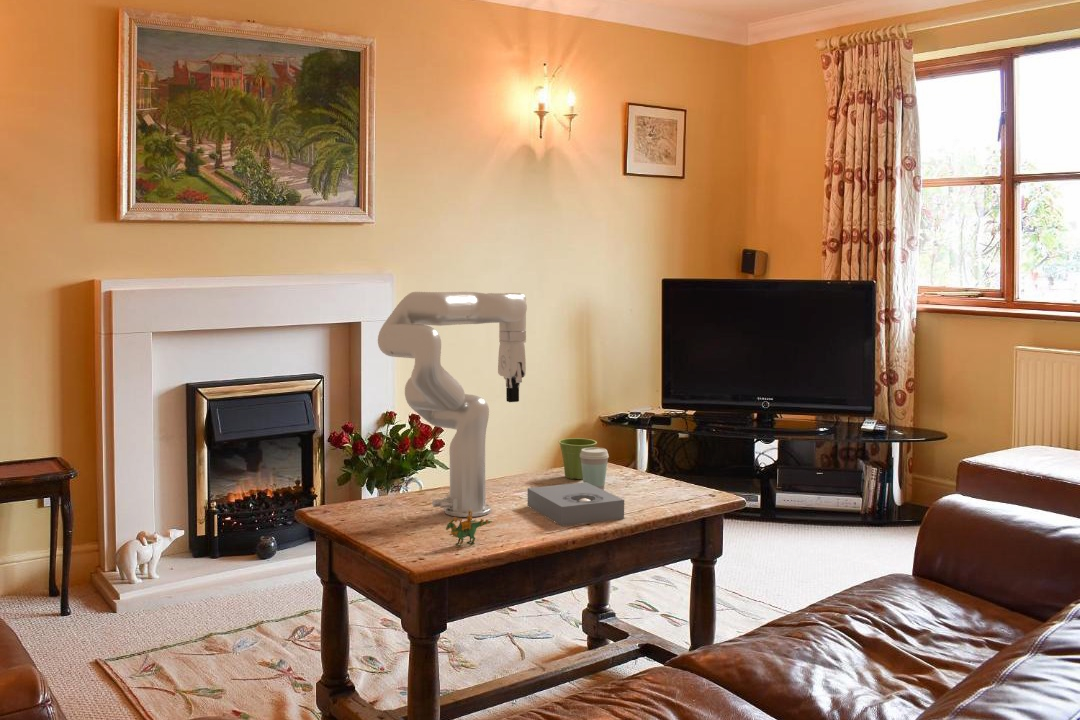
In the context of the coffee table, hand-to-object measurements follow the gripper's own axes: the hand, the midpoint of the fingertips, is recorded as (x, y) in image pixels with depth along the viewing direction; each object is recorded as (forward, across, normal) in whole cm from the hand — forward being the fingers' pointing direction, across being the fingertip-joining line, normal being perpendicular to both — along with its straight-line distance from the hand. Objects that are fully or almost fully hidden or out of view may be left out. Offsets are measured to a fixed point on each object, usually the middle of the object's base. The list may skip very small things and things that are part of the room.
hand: (512, 401), depth 286 cm
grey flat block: (+27, +24, +8) cm, 37 cm away
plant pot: (+27, -13, +27) cm, 41 cm away
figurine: (+27, +40, -28) cm, 56 cm away
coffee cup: (+27, +4, +24) cm, 37 cm away
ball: (+25, +30, +8) cm, 39 cm away
